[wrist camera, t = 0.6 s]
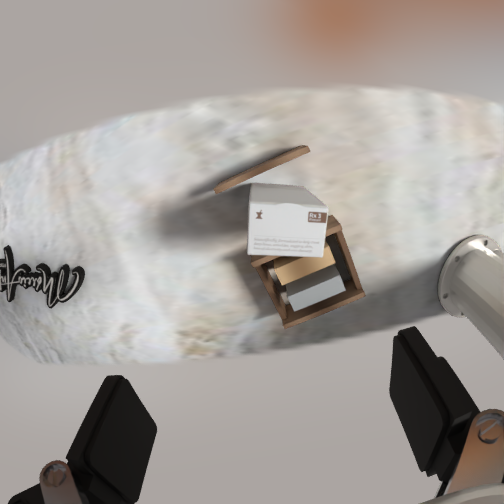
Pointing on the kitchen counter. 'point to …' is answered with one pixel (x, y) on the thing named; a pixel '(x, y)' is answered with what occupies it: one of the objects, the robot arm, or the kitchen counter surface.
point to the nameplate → (38, 279)
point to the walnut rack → (258, 261)
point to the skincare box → (285, 221)
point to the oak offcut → (301, 265)
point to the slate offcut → (314, 287)
